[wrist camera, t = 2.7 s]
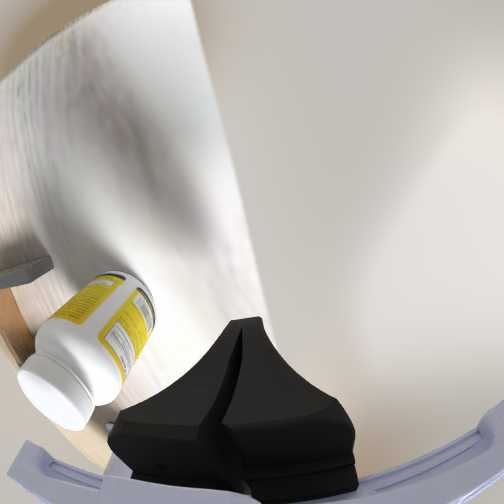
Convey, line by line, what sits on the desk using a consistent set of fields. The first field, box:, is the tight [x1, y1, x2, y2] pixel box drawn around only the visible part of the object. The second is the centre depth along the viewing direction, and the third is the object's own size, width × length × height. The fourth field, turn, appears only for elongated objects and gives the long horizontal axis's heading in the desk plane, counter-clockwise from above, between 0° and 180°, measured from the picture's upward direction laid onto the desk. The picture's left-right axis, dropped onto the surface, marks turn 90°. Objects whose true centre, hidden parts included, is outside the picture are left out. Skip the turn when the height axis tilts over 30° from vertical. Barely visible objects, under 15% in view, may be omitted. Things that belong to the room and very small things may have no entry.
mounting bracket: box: [0, 256, 54, 367], centre depth 16 cm, size 9×9×3 cm
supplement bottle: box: [17, 271, 157, 431], centre depth 12 cm, size 5×5×10 cm
